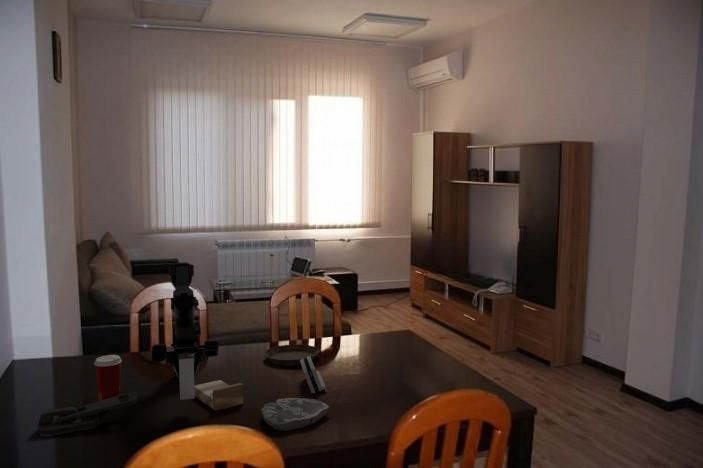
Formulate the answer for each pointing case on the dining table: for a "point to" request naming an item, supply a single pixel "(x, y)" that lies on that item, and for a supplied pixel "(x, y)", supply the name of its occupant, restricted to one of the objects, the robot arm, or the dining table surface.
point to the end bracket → (186, 376)
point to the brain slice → (293, 413)
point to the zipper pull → (79, 415)
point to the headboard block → (219, 394)
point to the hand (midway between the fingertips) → (186, 376)
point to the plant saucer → (291, 354)
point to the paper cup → (108, 376)
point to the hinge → (315, 375)
